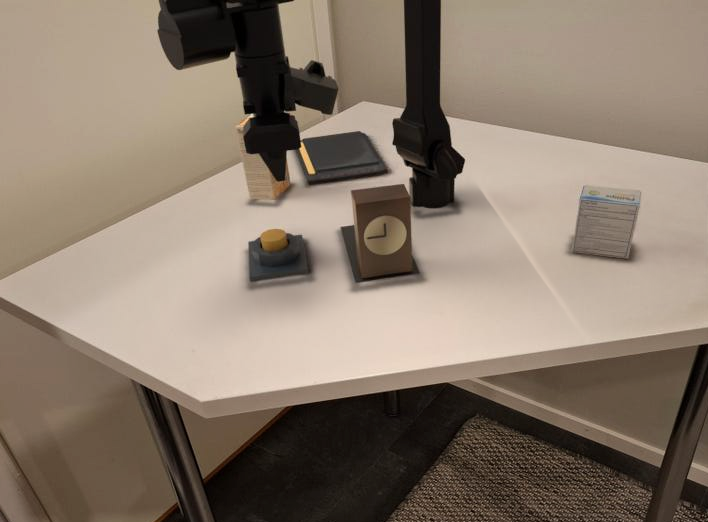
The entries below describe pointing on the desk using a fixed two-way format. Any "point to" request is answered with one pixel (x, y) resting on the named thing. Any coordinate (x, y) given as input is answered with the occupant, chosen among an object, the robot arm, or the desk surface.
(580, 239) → the medicine box
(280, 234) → the button
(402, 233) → the alarm clock
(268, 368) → the desk surface
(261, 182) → the supplement box
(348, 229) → the dark grey flat slab
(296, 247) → the switch block
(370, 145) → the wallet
